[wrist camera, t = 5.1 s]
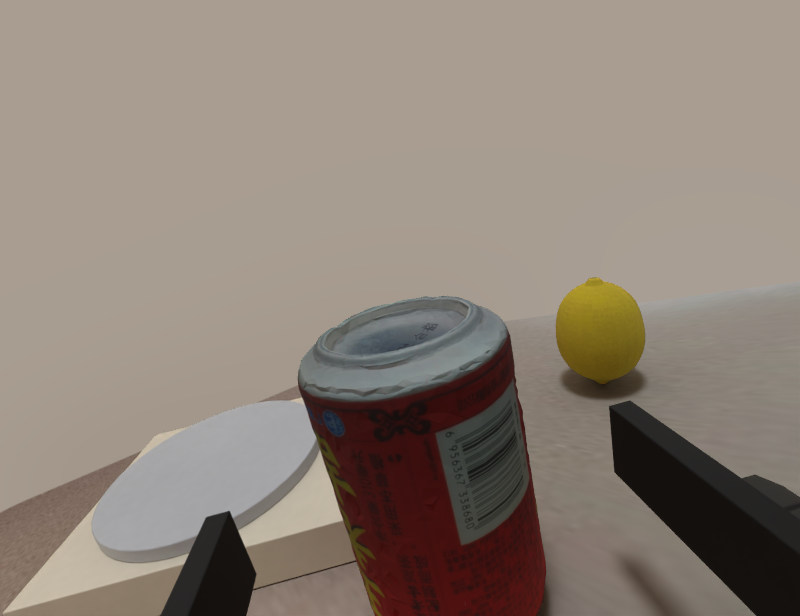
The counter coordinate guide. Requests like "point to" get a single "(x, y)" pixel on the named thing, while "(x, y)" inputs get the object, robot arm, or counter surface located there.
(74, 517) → the counter surface
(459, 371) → the soda can
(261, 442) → the kitchen scale
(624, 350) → the lemon
